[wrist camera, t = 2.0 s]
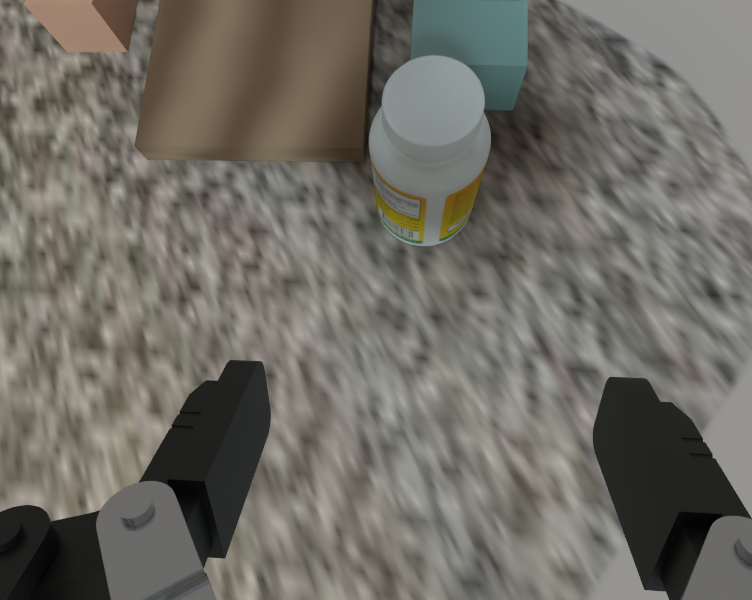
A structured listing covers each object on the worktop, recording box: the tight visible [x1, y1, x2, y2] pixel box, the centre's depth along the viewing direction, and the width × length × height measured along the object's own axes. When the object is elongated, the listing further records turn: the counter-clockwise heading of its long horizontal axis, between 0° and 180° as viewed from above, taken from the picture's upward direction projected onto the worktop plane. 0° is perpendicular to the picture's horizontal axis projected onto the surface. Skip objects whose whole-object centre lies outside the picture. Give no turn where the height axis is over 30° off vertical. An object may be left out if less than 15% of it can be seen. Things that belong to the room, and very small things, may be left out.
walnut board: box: [135, 0, 375, 162], centre depth 32 cm, size 13×13×2 cm
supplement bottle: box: [369, 55, 491, 246], centre depth 25 cm, size 5×5×10 cm
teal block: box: [410, 0, 528, 111], centre depth 29 cm, size 6×4×4 cm, turn 86°
